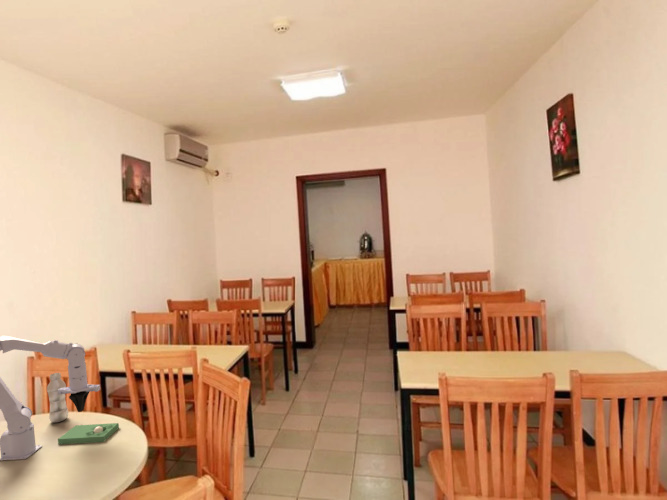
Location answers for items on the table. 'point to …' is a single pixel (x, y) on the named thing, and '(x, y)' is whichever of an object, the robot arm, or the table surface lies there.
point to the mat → (88, 434)
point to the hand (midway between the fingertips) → (81, 410)
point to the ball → (98, 430)
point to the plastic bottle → (57, 399)
